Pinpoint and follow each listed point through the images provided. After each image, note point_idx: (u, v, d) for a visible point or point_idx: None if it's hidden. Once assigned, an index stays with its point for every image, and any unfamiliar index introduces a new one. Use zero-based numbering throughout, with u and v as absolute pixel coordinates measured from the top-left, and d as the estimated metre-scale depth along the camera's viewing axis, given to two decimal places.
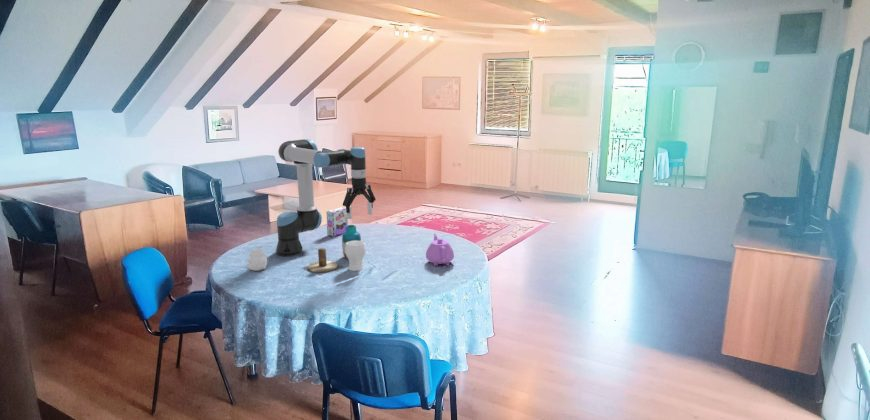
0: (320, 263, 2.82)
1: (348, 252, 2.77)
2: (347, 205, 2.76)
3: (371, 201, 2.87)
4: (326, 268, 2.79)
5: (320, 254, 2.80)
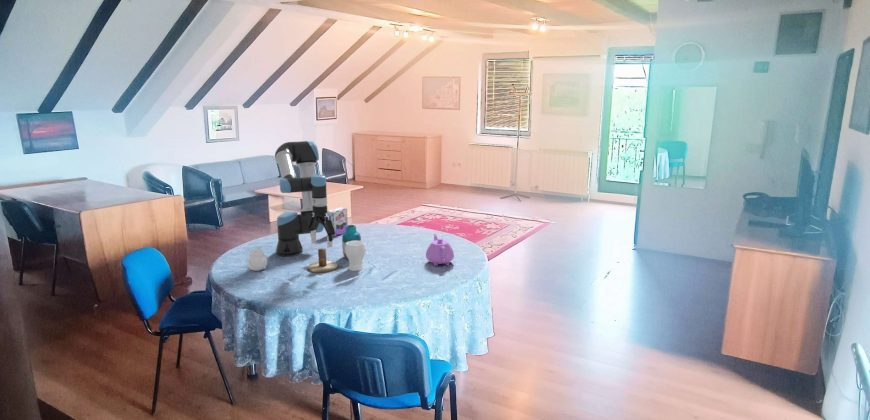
0: (320, 263, 2.82)
1: (348, 252, 2.77)
2: (310, 228, 2.84)
3: None
4: (326, 268, 2.79)
5: (320, 254, 2.80)
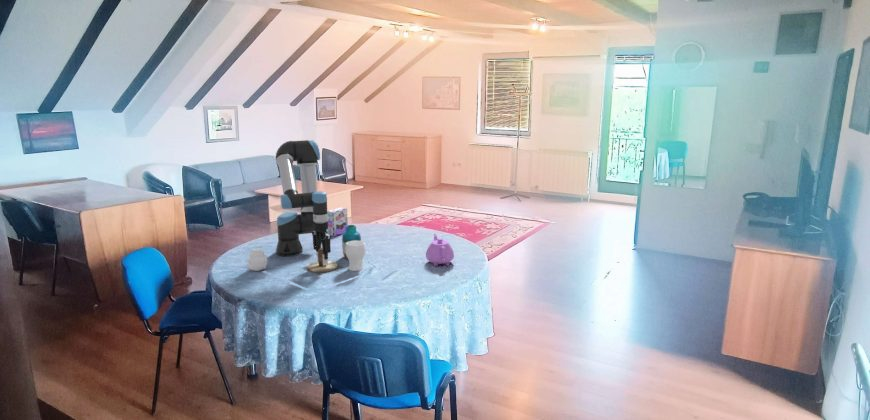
0: (320, 263, 2.82)
1: (348, 252, 2.77)
2: (316, 249, 2.84)
3: (323, 252, 2.79)
4: (326, 268, 2.80)
5: (320, 253, 2.81)
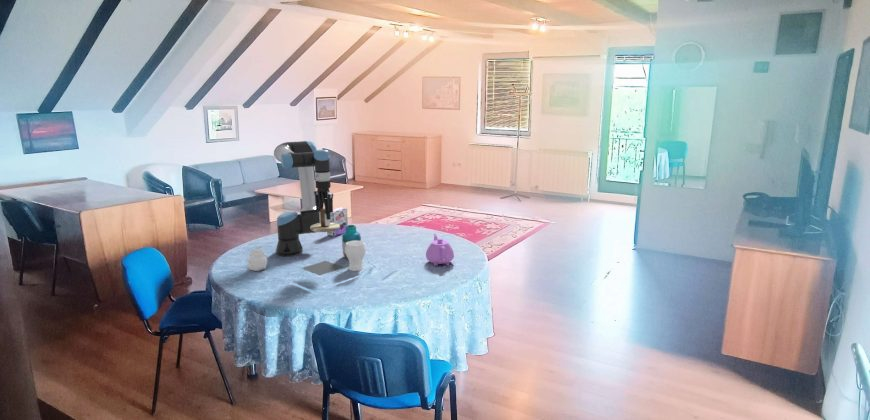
0: (322, 223, 2.76)
1: (348, 252, 2.77)
2: None
3: (325, 211, 2.74)
4: (328, 228, 2.74)
5: (322, 213, 2.75)
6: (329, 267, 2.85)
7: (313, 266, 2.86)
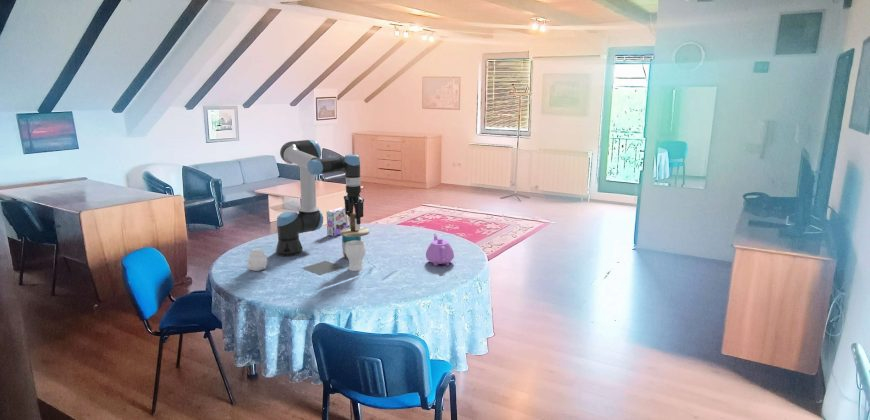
0: (352, 228, 2.76)
1: (348, 252, 2.77)
2: (348, 214, 2.79)
3: (356, 216, 2.74)
4: (359, 233, 2.74)
5: (352, 218, 2.75)
6: (329, 267, 2.85)
7: (313, 266, 2.86)
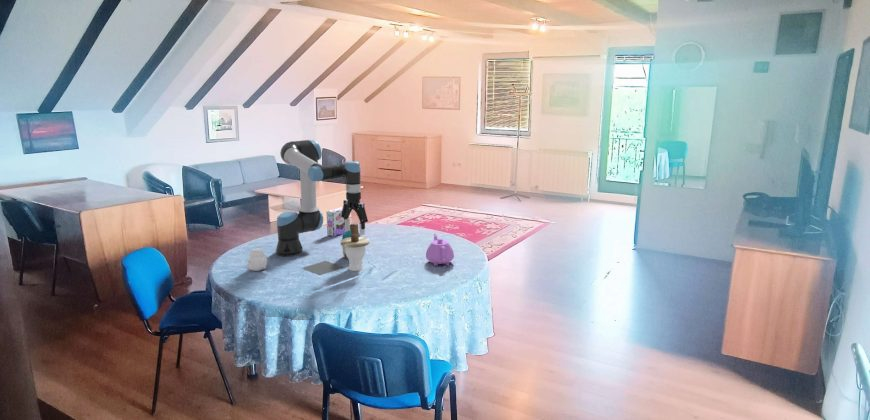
0: (352, 238, 2.78)
1: (348, 252, 2.77)
2: None
3: None
4: (359, 243, 2.75)
5: (352, 229, 2.76)
6: (329, 267, 2.85)
7: (313, 266, 2.86)
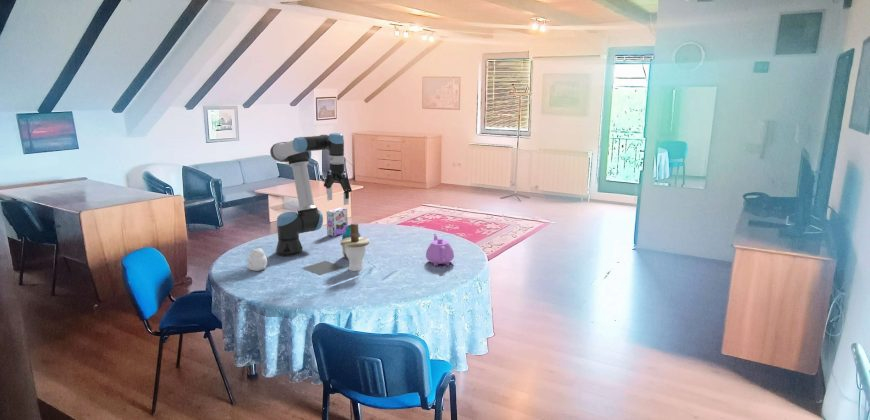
0: (352, 238, 2.78)
1: (348, 252, 2.77)
2: None
3: (344, 191, 2.79)
4: (359, 243, 2.75)
5: (352, 228, 2.76)
6: (329, 267, 2.85)
7: (313, 266, 2.86)
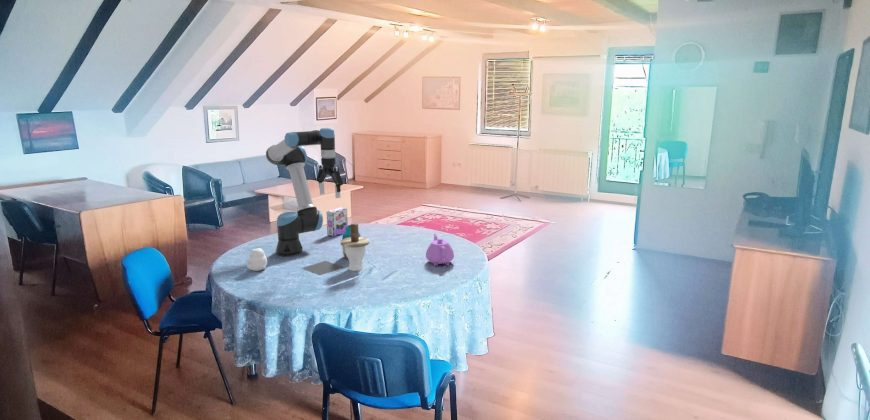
0: (352, 238, 2.78)
1: (348, 252, 2.77)
2: None
3: (336, 185, 2.83)
4: (359, 243, 2.75)
5: (352, 228, 2.76)
6: (329, 267, 2.85)
7: (313, 266, 2.86)
